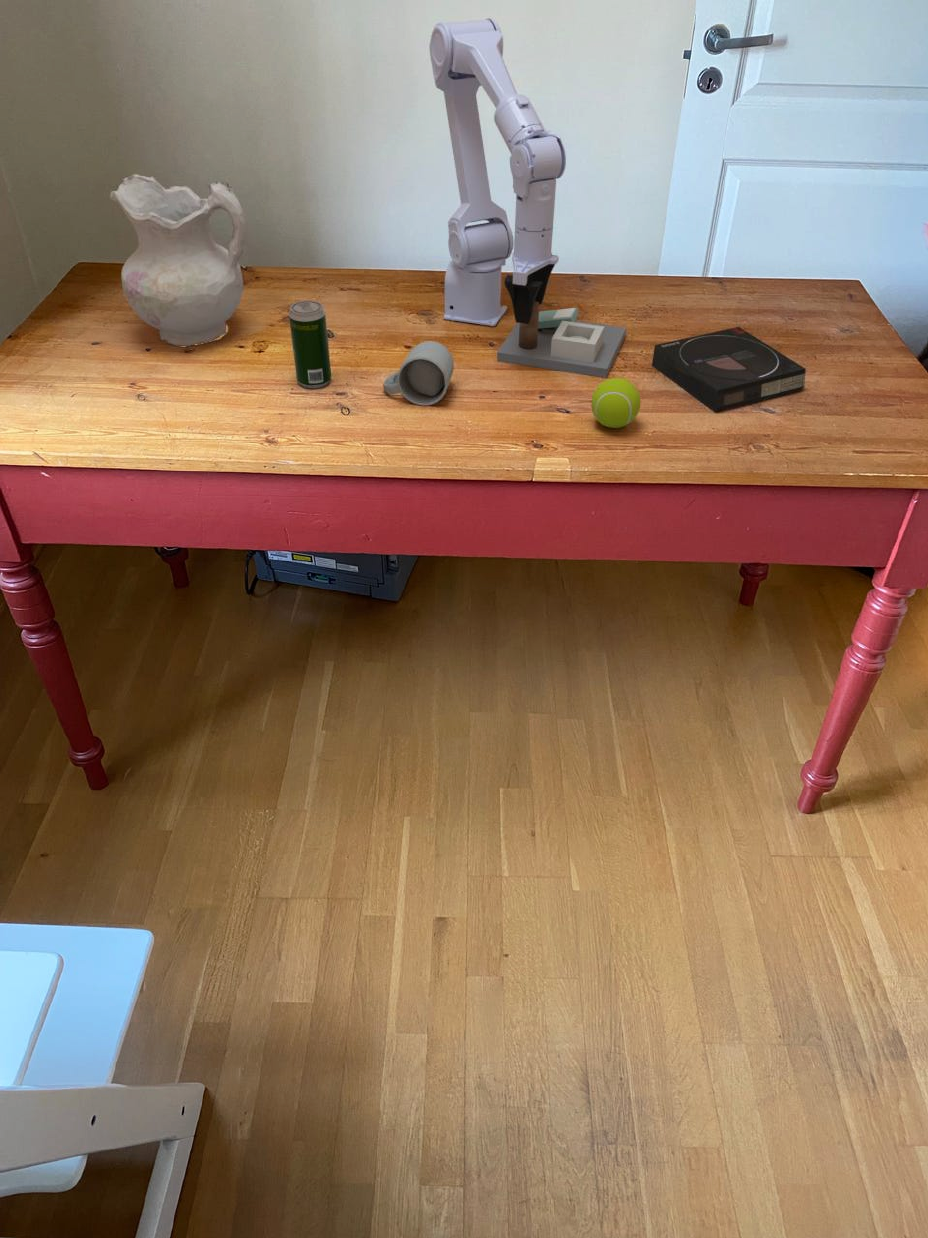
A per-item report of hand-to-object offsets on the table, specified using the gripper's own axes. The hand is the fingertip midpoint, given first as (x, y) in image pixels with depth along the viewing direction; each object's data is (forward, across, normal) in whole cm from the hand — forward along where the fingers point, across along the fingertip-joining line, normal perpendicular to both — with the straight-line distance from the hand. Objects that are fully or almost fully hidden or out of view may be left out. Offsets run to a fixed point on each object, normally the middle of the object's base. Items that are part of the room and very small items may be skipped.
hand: (529, 312), depth 149 cm
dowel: (+6, 0, 0) cm, 6 cm away
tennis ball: (+7, -18, -18) cm, 27 cm away
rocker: (+4, +7, -2) cm, 9 cm away
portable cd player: (+8, +2, -32) cm, 33 cm away
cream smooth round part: (+5, +1, -8) cm, 10 cm away
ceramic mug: (+7, -18, +12) cm, 23 cm away
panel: (+7, +4, -5) cm, 9 cm away
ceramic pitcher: (+7, -10, +55) cm, 56 cm away
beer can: (+7, -20, +29) cm, 36 cm away
